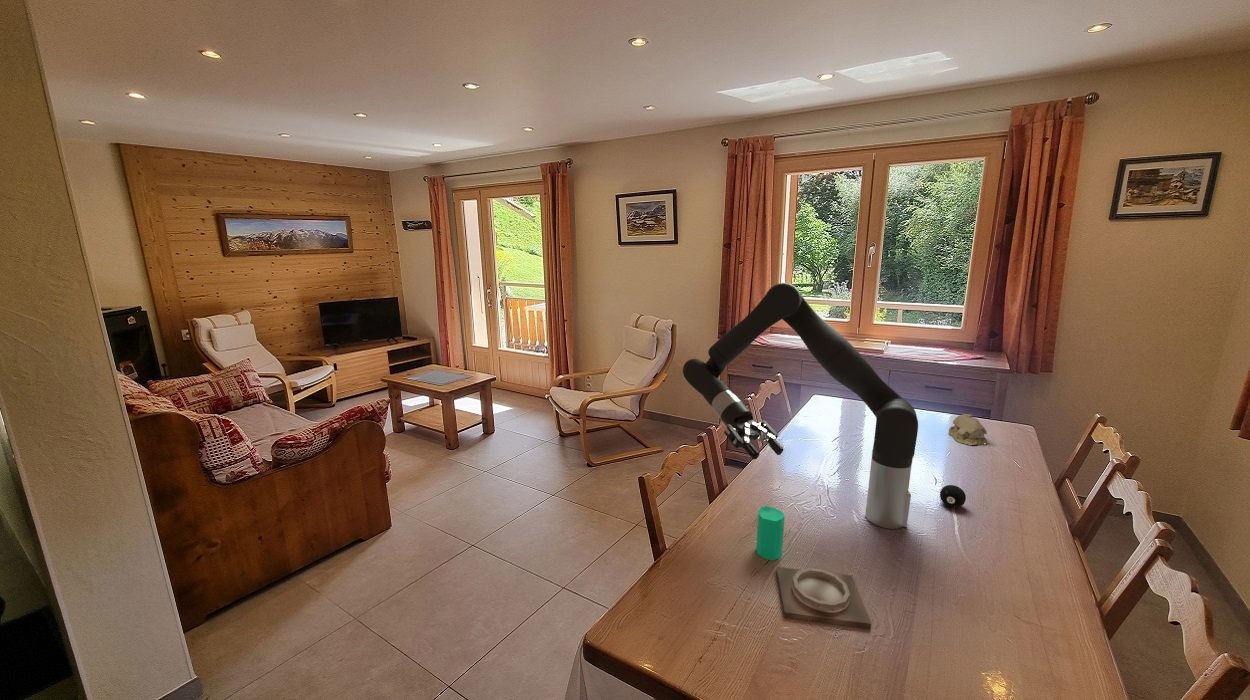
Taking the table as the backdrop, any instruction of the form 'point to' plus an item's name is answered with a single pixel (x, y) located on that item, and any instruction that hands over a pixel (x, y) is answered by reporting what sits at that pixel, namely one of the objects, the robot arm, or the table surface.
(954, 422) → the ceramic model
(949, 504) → the billiard ball
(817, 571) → the holder
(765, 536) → the candle
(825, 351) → the robot arm
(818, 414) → the table surface
